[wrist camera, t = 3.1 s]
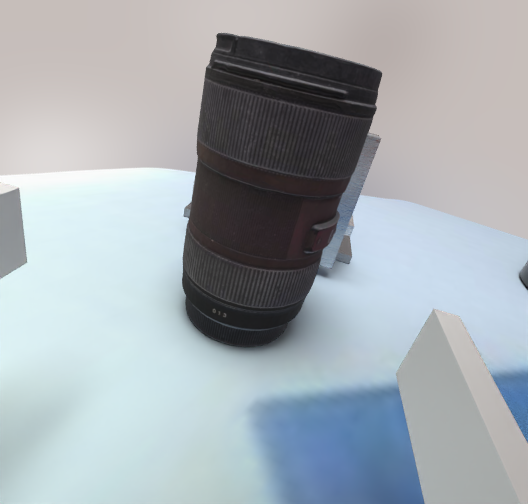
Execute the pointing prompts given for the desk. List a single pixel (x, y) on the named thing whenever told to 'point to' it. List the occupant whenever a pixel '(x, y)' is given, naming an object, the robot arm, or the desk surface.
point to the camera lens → (269, 181)
